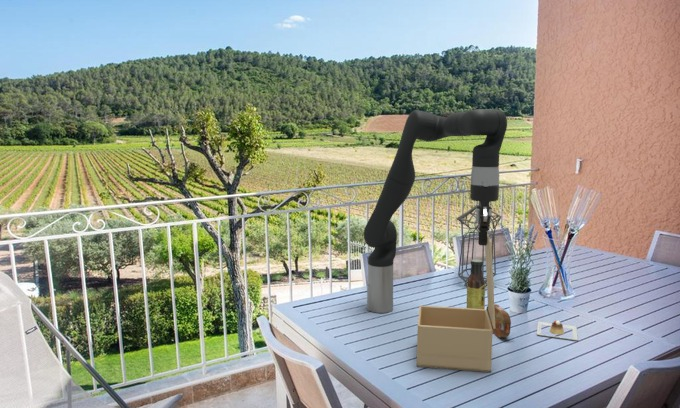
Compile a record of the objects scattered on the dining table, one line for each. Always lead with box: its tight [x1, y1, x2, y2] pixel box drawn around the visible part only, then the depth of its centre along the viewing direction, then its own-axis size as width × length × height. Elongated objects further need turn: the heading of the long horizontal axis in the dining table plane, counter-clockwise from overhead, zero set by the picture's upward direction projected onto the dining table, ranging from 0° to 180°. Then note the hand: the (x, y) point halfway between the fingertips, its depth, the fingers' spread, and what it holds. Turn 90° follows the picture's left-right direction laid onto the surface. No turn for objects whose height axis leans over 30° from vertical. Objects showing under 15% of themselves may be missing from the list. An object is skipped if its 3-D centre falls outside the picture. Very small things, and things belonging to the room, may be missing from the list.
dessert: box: [536, 320, 579, 341], centre depth 165 cm, size 12×12×5 cm
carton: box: [416, 305, 494, 373], centre depth 147 cm, size 20×17×12 cm
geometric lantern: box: [455, 204, 502, 288], centre depth 212 cm, size 16×16×35 cm
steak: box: [485, 303, 512, 338], centre depth 165 cm, size 15×3×8 cm, turn 5°
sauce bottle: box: [466, 258, 486, 310], centre depth 180 cm, size 7×6×20 cm
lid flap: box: [484, 234, 496, 329], centre depth 142 cm, size 24×15×1 cm
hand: (482, 244), depth 141 cm, fingers closed
